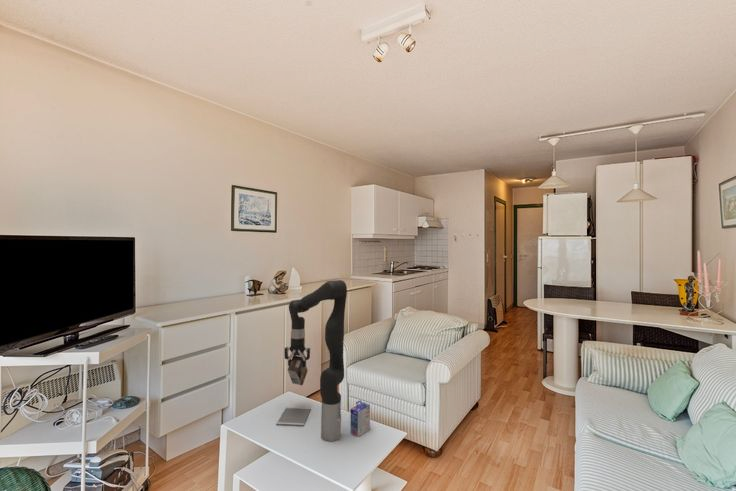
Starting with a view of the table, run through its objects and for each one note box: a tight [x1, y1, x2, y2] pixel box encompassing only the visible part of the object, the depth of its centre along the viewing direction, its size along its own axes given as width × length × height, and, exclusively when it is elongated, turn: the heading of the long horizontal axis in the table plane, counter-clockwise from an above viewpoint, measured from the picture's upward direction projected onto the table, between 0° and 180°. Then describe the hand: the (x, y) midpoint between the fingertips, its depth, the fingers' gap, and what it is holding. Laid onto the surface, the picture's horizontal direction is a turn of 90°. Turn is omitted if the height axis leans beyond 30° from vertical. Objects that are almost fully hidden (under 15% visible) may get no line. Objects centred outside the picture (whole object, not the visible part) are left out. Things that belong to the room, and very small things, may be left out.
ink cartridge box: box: [350, 399, 371, 438], centre depth 168 cm, size 10×6×14 cm, turn 142°
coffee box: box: [287, 355, 309, 386], centre depth 186 cm, size 9×6×16 cm
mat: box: [276, 406, 312, 427], centre depth 180 cm, size 14×18×1 cm
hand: (297, 366), depth 183 cm, fingers closed on coffee box, 7 cm apart
